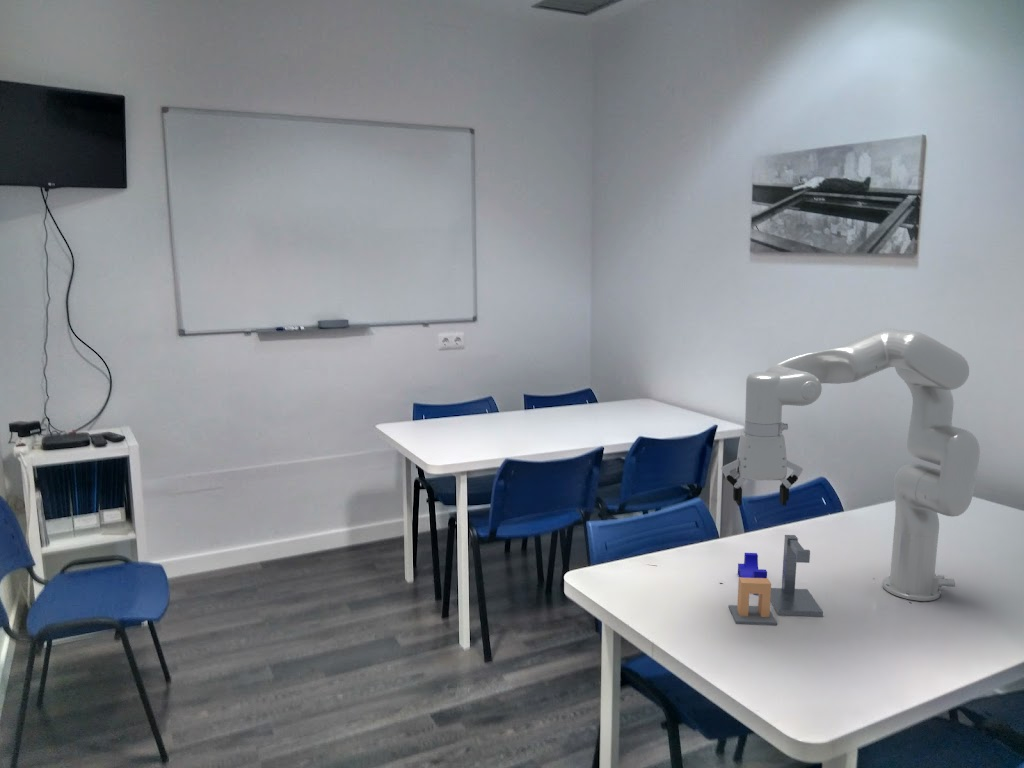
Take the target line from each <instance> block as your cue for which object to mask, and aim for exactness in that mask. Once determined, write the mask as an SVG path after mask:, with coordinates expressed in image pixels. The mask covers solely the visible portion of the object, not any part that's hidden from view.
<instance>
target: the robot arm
mask: <svg viewBox="0 0 1024 768" xmlns="http://www.w3.org/2000/svg"><path fill="white" fill-rule="evenodd" d="M889 368H894V369H895V371H896V373H897V375H898V376H899V378H901V380H903V382H904V383H905V384H906V386H907V387H908V389H909V391H910V394H911V396H912V405H911V406H912V407H911V412H910V413H911V415H910V421H909V426H908V431H907V432H908V433H907V441H906V447H907V448H906V449H907V451H908V453H909V454H910V455H911V456H913V457H914V458H917V459H919V460H922V461H924V462H928V463H930V464H935V465H937V466H940V469H937V468H934V467H931V466H928V465H924V464H921V463H920V464H919V463H908V464H904V465H902V466H901V467H900V468H898V470H897V471H896V473H895V474H894V478H893V484H892V485H893V495H894V503H895V505H894V506H895V509H894V510H895V512H894V513H895V514H894V515H895V516H894V526H893V527H894V528H893V536H892V537H893V538H892V551H891V562H890V573H889V574H890V576H887V577H885V578H883V580H882V584H881V585H882V588H883V589H884V590H885V591H886V592H888V593H890V594H891V595H894V596H897V597H899V598H902V599H907V600H910V601H911V600H912V601H919V602H929V601H935V600H937V599H939V598H940V596H941V589H940V588H943V587H948V588H949V587H950V588H951V587H952V588H954V587H956V580H955V579H954V578H945V576H944V575H942V574H941V575H939V574H938V575H936V574H935V573H936V567H937V566H936V565H937V555H938V554H937V553H938V543H939V534H940V533H939V532H940V519H939V514H940V515H943V516H946V517H950V518H951V517H959V516H961V515H962V514H964V513H965V512H966V511H967V510H968V509H969V508H970V505H971V503H972V500H973V495H974V491H975V485H976V480H977V475H978V467H979V463H980V457H981V456H980V455H981V449H980V444H979V441H978V438H977V437H976V436H975V435H974V434H973V433H972V432H970V431H968V430H967V429H964V428H961V427H956V426H953V414H954V413H953V412H954V398H953V393H952V391H954V390H957V389H959V388H961V387H962V386H964V384H965V383H966V382H967V380H968V379H969V376H970V366H969V363H968V360H966V358H965V357H964V356H963V355H962V354H961V353H959V352H957V351H956V350H954V349H952V348H950V347H948V346H947V345H945V344H943V343H941V342H940V341H938V340H936V339H935V338H932V337H930V336H928V335H927V334H924V333H922V332H917V331H913V330H904V329H895V328H888V329H887V328H886V329H880V330H878V331H876V332H871V333H870V334H868V335H866V336H862V337H861V338H857V339H856V340H853V341H850V342H848V343H846V344H844V345H841V346H837V347H835V348H834V347H833V348H829V349H823V350H819V351H815V352H814V351H813V352H810V353H804V354H801V355H797V356H794V357H790V358H788V359H785V360H783V361H781V362H778V363H776V364H774V365H772V366H770V367H769V368H767V369H766V370H765V371H758V372H756V371H755V372H752V373H750V374H748V376H746V377H747V378H746V381H745V414H744V415H745V418H744V419H745V422H744V432H741V434H740V435H739V436H740V437H739V442H738V447H737V455H736V456H737V457H736V459H735V460H733V461H731V462H729V463H727V464H724V465H722V467H721V472H722V473H723V475H724V476H725V479H726V480H727V481H728V482H729V483H730V484H731V485H732V487H733V489H732V491H733V492H732V493H733V495H732V498H733V501H734V502H735V503H736V505H737V506H740V507H741V506H742V505H743V504H742V502H743V501H742V500H743V489H742V487H741V486H742V485H743V484H744V483H745V482H746V481H780V483H781V484H780V485H779V500H778V501H779V503H780V504H781V505H782V506H784V507H785V506H787V502H789V499H790V489H791V488H792V486H793V484H795V483H796V482H797V481H798V479H799V477H800V476H801V474H802V473H803V471H804V470H803V469H804V468H803V467H802V466H800V465H798V464H796V463H794V462H792V461H790V460H788V459H787V447H786V446H787V445H786V440H785V436H784V434H783V431H786V430H788V429H789V423H784V422H783V421H782V418H783V417H782V414H783V413H782V412H783V407H784V406H793V407H794V406H796V407H804V406H809V405H812V404H813V403H815V402H816V401H817V400H818V399H819V398H820V396H821V394H822V389H823V387H822V384H834V385H835V384H837V385H838V384H851V383H855V382H858V381H860V380H862V379H866V378H867V377H870V376H872V375H874V374H876V373H879V372H881V371H882V372H883V371H884V370H886V369H889ZM788 468H789V469H790V470H792V471H793V472H792V473H791V474H790V475H789V476H788V477H787V473H788ZM735 469H736V470H735ZM733 470H735V471H736V473H737V475H736V476H735V477H734V476H732V475H731V471H733Z"/></svg>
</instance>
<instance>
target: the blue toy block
mask: <svg viewBox="0 0 1024 768" xmlns="http://www.w3.org/2000/svg"><path fill="white" fill-rule="evenodd" d="M743 556H744V558H743V559H744V560H743V562H744V563H737V576H738V575H739V576H738V578H739V577H740V578H768V570H767V569H764V568H763V569H761V568H759V559H758V558H759V555H758V553H757V552H744V555H743ZM756 595H758V596H759V594H756Z"/></svg>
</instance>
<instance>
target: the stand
mask: <svg viewBox="0 0 1024 768" xmlns="http://www.w3.org/2000/svg"><path fill="white" fill-rule="evenodd" d="M783 544H784V545H783V556H782V557H783V558H782V573H781V574H782V576H781V588H780V587H771V597H770V605H772V608H773V609H774V611H775V612H776V614H777V615H778V616H794V617H795V616H796V617H817V618H818V617H821V618H823V617H824V611H823V609H822V608H821V606H820V605H819V604H818V602H817V601H816V600H815V598H814V596H813V595H812V593H810V591H809V589H807V588H796V574H797V563H801V564H802V563H805V564H807V563H808V564H809V563H810V561H811V560H810V559H811V550H810V549H804V547H803V546H802V545H801V543H800V542H799V538H798V537H797V535H795V534H785V535H784V542H783Z"/></svg>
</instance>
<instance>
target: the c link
mask: <svg viewBox="0 0 1024 768" xmlns="http://www.w3.org/2000/svg"><path fill="white" fill-rule="evenodd" d="M737 587H738V588H737V602H736V603H737V604H736V605H737V611H738V613H739V615H740V616H747V617H748V609H749V606H750V594H751V595H757V594H759V595H758V602H757V604H758V605H757V606H758V612H759V614H760V616H761V617H769V614H770V611H771V609H770V608H771V602H770V597H771V588H772V583H771V581H770V579H769V578H768V577H767V578H740V577H739V576H738V585H737Z"/></svg>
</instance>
